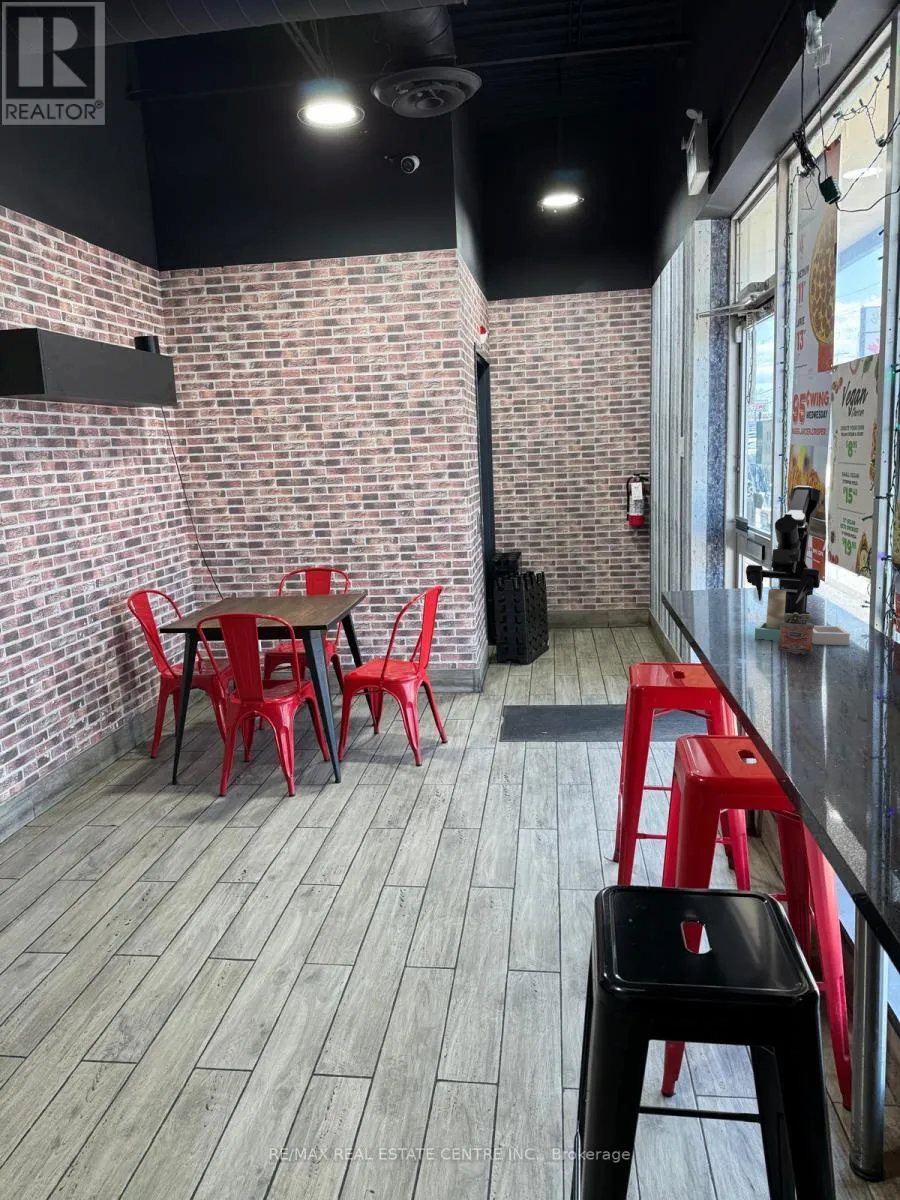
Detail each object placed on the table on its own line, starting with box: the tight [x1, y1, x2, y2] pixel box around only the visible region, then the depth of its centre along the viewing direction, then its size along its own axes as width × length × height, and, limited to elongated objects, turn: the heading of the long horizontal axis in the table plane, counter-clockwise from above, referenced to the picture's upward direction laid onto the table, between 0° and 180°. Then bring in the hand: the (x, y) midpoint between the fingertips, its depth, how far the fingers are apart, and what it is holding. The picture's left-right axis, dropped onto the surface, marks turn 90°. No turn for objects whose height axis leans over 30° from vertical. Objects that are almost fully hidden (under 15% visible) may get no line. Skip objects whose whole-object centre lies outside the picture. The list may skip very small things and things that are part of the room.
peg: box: [766, 588, 786, 630], centre depth 223 cm, size 4×4×13 cm
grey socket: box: [812, 625, 851, 646], centre depth 220 cm, size 9×9×3 cm
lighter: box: [777, 612, 815, 655], centre depth 209 cm, size 8×3×10 cm, turn 62°
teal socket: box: [754, 621, 780, 642], centre depth 224 cm, size 9×9×3 cm
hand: (777, 601), depth 224 cm, fingers open, 9 cm apart
